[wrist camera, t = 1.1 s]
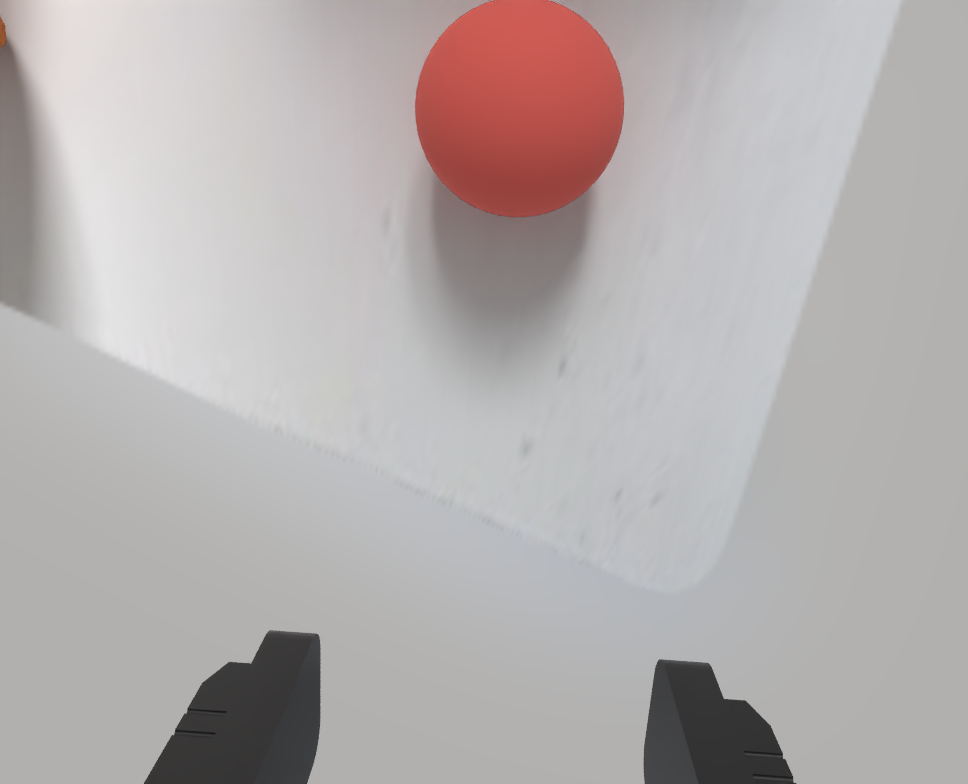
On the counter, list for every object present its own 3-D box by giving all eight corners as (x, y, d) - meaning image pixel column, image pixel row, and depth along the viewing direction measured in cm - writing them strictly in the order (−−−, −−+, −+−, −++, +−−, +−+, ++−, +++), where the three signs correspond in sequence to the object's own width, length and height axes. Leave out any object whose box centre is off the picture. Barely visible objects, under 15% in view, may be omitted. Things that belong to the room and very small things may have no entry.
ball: (430, 9, 26) (406, -31, 20) (620, 20, 25) (651, -17, 20) (423, 204, 27) (399, 219, 22) (601, 214, 27) (624, 233, 21)
